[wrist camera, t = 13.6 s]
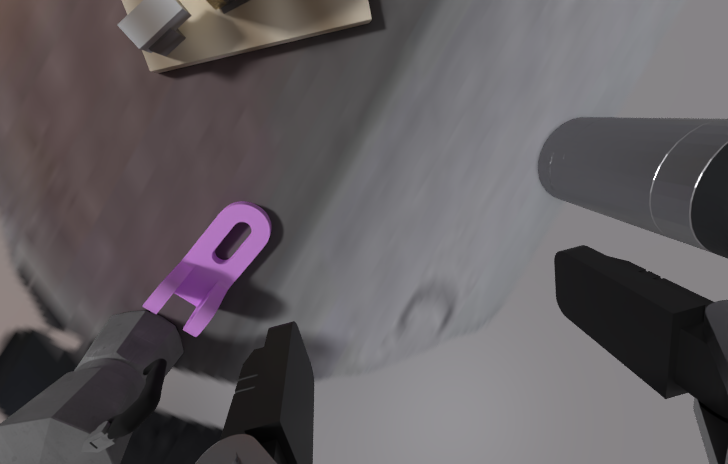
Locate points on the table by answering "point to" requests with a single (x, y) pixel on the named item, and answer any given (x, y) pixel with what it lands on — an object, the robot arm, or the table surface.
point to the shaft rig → (229, 26)
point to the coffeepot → (96, 397)
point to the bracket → (213, 265)
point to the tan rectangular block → (219, 3)
